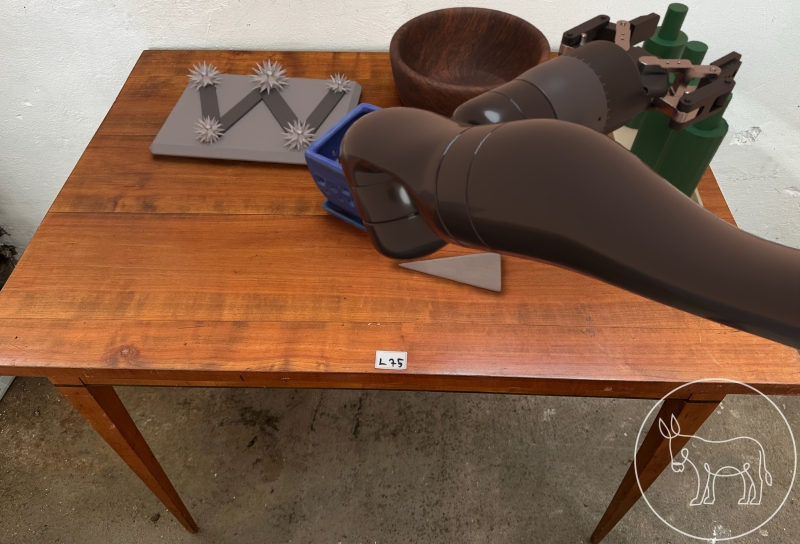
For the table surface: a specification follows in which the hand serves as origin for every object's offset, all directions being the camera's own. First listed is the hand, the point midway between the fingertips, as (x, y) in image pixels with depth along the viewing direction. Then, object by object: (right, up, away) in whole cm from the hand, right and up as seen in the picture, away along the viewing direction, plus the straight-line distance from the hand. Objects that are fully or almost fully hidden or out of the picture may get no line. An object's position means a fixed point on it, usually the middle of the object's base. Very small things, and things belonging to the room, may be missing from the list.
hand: (692, 42), depth 50 cm
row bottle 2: (+10, -4, +32) cm, 34 cm away
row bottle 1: (+11, +4, +38) cm, 40 cm away
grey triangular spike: (-20, -22, +19) cm, 35 cm away
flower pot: (-30, -12, +27) cm, 42 cm away
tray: (+10, -4, +32) cm, 34 cm away
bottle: (+9, -12, +25) cm, 30 cm away
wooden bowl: (-16, +8, +42) cm, 46 cm away
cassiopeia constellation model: (-49, +3, +39) cm, 63 cm away
